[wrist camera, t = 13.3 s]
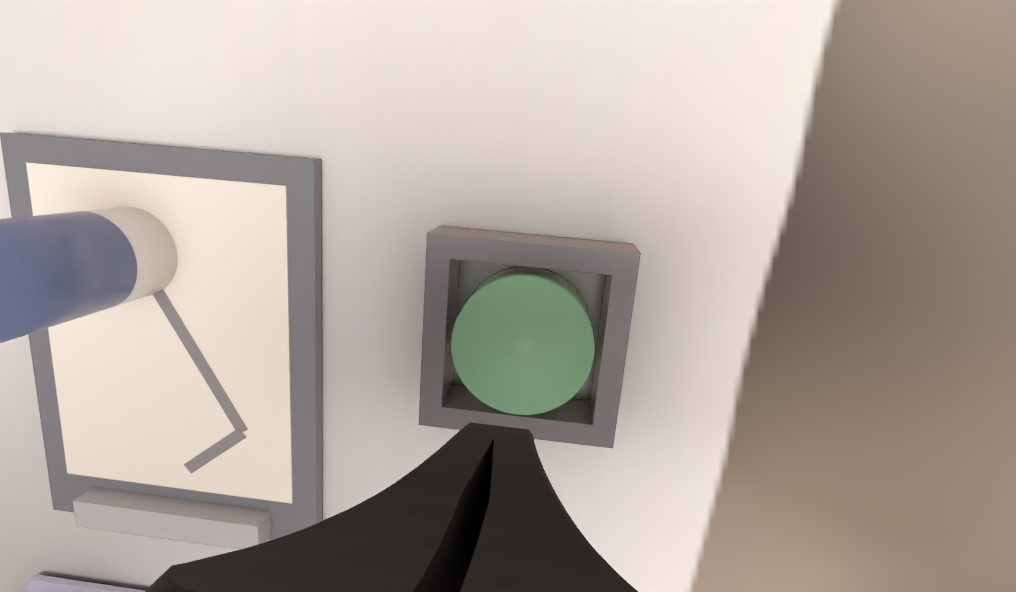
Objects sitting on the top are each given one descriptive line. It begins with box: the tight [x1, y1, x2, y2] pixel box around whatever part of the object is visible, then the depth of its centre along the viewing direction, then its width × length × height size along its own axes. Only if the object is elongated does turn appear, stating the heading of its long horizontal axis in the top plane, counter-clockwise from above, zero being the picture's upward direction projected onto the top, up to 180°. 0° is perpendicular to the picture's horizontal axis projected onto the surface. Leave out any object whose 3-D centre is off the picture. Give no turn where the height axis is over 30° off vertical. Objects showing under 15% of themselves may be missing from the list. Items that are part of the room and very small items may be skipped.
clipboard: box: [0, 132, 322, 549], centre depth 22 cm, size 16×12×2 cm
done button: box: [451, 267, 595, 415], centre depth 19 cm, size 5×5×2 cm
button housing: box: [419, 226, 641, 448], centre depth 20 cm, size 7×7×2 cm
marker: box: [0, 207, 177, 343], centre depth 18 cm, size 3×3×7 cm
